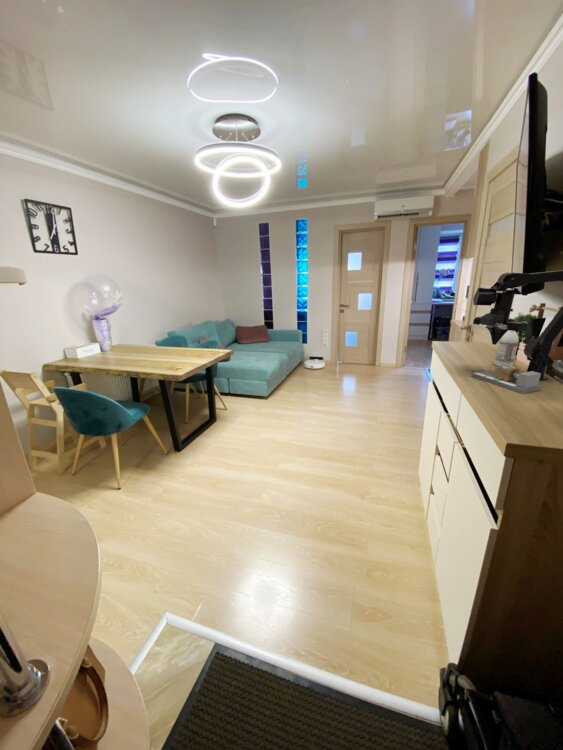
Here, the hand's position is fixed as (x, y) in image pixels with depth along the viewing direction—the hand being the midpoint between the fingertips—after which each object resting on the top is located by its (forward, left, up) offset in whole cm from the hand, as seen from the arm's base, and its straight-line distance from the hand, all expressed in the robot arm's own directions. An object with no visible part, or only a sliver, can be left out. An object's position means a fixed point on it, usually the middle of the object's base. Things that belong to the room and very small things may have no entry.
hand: (494, 344), depth 127 cm
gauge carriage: (+5, +11, -11) cm, 17 cm away
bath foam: (-18, -6, -13) cm, 23 cm away
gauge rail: (+4, +10, -13) cm, 17 cm away
